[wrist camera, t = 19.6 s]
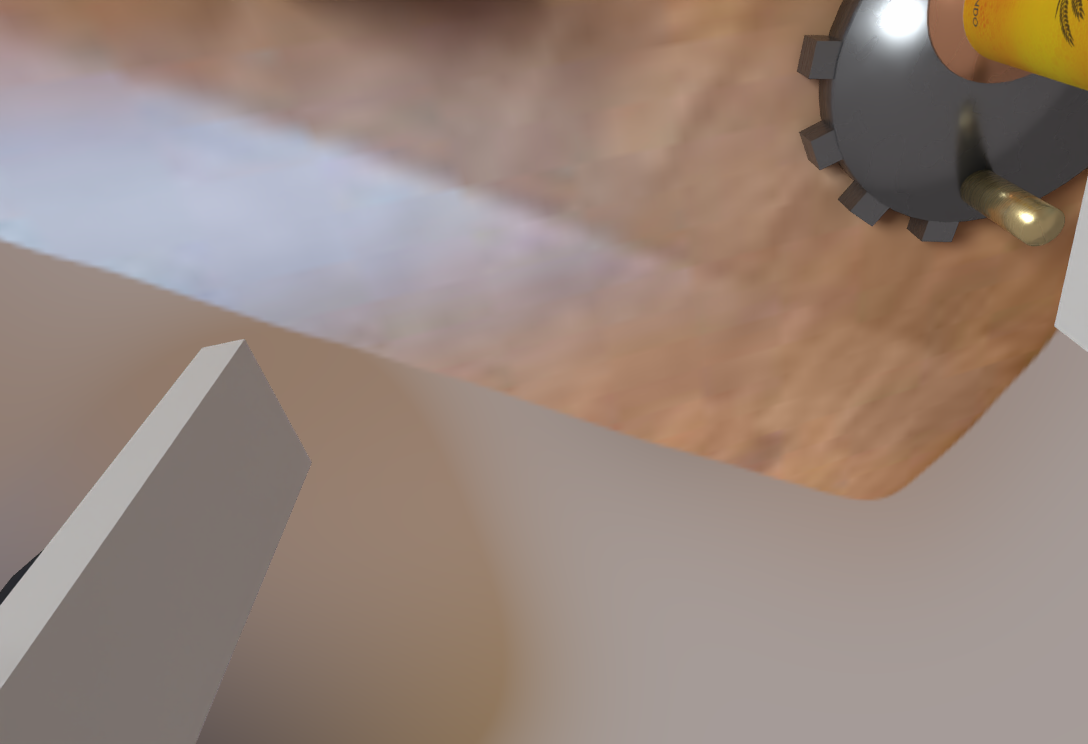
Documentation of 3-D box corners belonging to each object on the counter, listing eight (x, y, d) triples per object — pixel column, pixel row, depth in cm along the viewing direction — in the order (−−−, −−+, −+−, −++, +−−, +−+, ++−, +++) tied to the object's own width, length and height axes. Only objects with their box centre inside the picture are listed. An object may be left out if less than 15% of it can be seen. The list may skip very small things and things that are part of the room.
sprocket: (848, -179, 31) (934, -206, 24) (1267, -168, 32) (1471, -192, 25) (763, 224, 42) (806, 285, 35) (1075, 230, 42) (1179, 292, 36)
